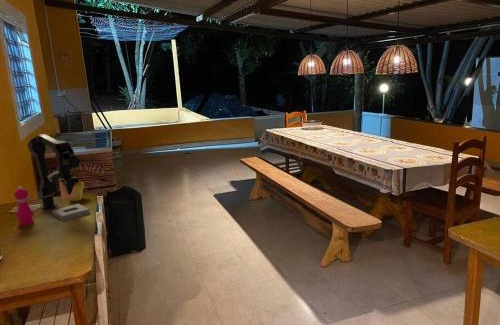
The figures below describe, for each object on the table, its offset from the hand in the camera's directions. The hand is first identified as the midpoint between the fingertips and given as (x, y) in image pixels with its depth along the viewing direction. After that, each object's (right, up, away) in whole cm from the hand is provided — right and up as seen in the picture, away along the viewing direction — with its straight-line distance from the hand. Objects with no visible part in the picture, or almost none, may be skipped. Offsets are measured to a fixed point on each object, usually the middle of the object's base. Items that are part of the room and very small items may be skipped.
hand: (68, 193), depth 194 cm
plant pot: (-9, -6, +28) cm, 30 cm away
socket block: (0, -11, +3) cm, 12 cm away
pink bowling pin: (-17, -15, -9) cm, 24 cm away
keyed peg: (0, -2, 0) cm, 2 cm away
